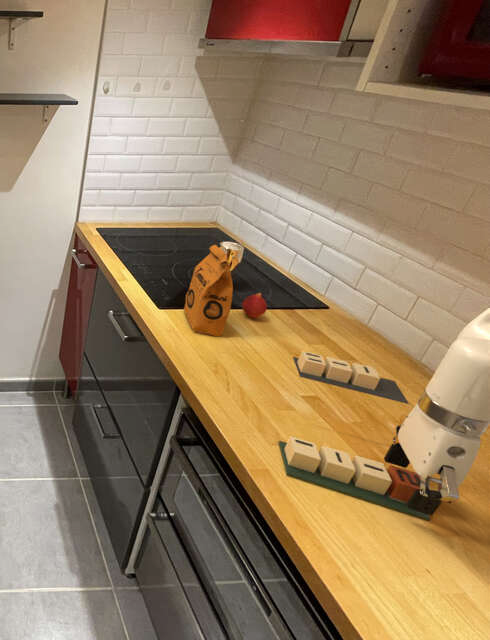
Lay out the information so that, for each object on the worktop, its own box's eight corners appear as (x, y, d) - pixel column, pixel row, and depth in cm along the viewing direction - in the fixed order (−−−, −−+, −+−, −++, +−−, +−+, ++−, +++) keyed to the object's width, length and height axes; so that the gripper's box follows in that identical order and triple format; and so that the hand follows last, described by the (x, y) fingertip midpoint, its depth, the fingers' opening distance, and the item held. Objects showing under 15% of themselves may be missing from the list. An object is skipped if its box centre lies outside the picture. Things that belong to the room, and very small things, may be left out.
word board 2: (408, 481, 80) (418, 465, 79) (429, 521, 74) (441, 504, 72) (278, 442, 88) (285, 426, 86) (286, 475, 81) (294, 458, 79)
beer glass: (218, 294, 139) (231, 251, 133) (202, 283, 146) (214, 242, 139) (236, 292, 141) (250, 249, 135) (220, 281, 147) (232, 240, 141)
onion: (240, 320, 127) (249, 296, 123) (237, 309, 132) (245, 286, 128) (264, 324, 125) (273, 300, 122) (260, 314, 130) (268, 290, 126)
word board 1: (393, 382, 104) (401, 368, 102) (408, 406, 97) (416, 391, 96) (291, 358, 111) (297, 344, 110) (299, 378, 105) (305, 364, 103)
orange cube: (410, 487, 79) (419, 472, 77) (420, 506, 75) (430, 492, 74) (381, 478, 80) (390, 464, 79) (390, 497, 77) (399, 482, 75)
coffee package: (186, 332, 121) (206, 260, 112) (179, 308, 131) (197, 241, 122) (226, 340, 118) (250, 266, 109) (216, 315, 129) (237, 246, 120)
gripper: (520, 463, 61) (461, 541, 68) (456, 383, 76) (412, 455, 83) (449, 444, 64) (398, 521, 71) (399, 370, 79) (361, 441, 86)
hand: (406, 485), depth 77 cm, fingers open, 9 cm apart
